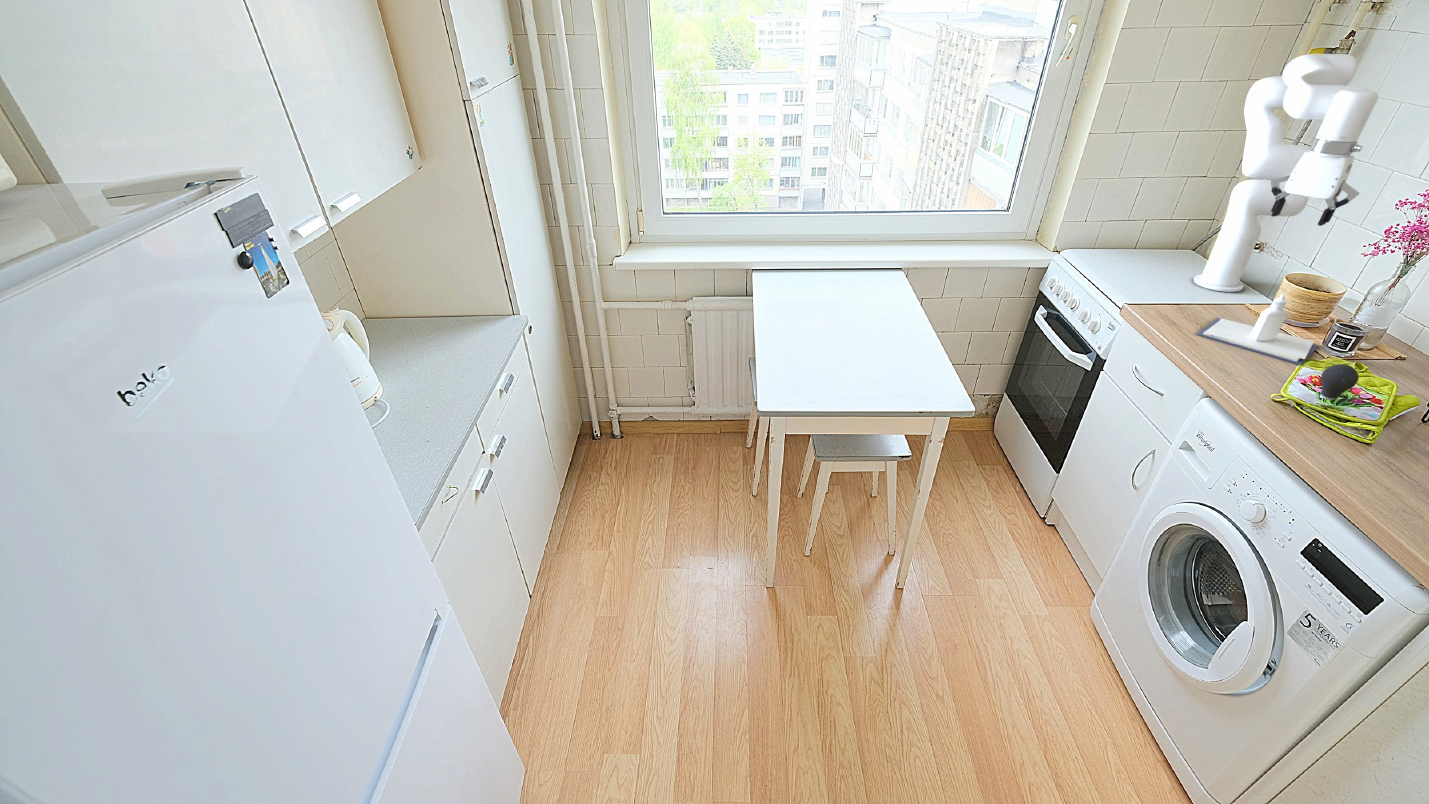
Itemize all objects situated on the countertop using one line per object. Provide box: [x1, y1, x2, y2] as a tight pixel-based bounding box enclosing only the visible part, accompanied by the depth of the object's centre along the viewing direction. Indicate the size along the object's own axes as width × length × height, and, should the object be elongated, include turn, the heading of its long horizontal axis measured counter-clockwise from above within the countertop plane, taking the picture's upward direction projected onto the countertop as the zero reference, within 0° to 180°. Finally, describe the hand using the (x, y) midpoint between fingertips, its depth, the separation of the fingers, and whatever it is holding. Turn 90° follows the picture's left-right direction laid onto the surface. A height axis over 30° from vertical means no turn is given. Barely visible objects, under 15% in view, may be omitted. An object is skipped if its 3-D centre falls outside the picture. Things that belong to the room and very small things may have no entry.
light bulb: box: [1316, 363, 1359, 408], centre depth 135 cm, size 6×6×10 cm
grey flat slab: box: [1196, 318, 1319, 366], centre depth 165 cm, size 16×22×1 cm
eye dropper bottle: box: [1250, 294, 1288, 342], centre depth 160 cm, size 4×6×12 cm
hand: (1297, 220), depth 159 cm, fingers open, 9 cm apart
